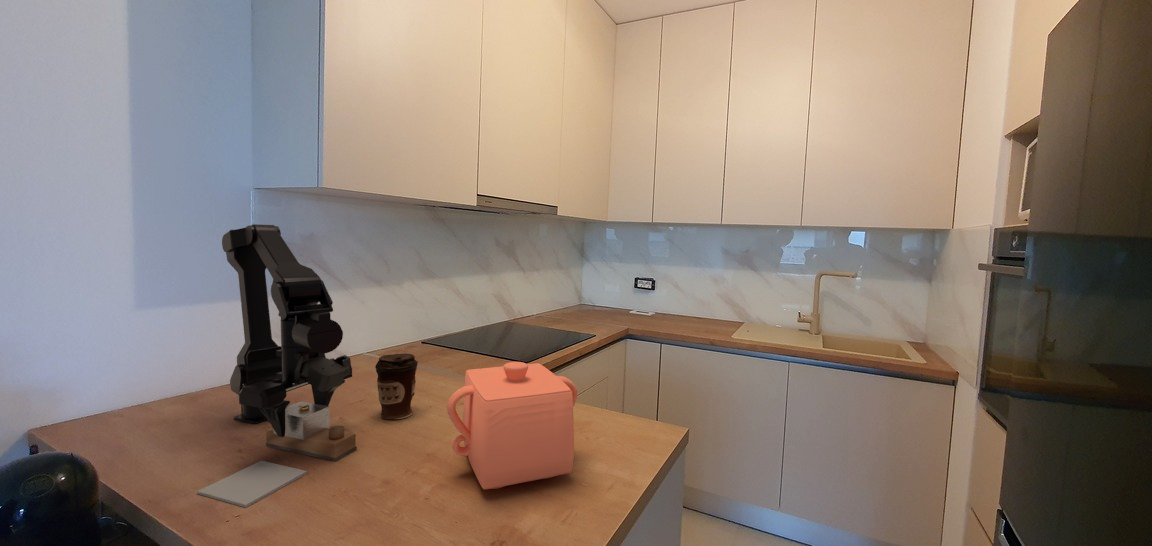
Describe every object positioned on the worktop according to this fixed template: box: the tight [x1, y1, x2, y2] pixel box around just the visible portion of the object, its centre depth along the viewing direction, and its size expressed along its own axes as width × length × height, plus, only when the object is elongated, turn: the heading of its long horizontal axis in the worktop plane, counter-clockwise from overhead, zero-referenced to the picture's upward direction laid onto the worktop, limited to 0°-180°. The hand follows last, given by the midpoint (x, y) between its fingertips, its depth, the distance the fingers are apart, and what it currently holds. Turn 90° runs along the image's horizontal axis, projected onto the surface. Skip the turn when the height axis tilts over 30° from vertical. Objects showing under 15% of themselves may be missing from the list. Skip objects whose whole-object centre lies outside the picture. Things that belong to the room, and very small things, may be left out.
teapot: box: [446, 361, 578, 491], centre depth 81 cm, size 25×23×18 cm
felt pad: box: [196, 460, 308, 508], centre depth 71 cm, size 10×10×1 cm
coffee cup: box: [374, 353, 419, 420], centre depth 99 cm, size 9×8×13 cm
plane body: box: [265, 425, 358, 462], centre depth 83 cm, size 16×5×5 cm, turn 72°
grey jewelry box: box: [274, 401, 331, 440], centre depth 83 cm, size 7×6×5 cm
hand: (302, 427), depth 84 cm, fingers open, 8 cm apart
